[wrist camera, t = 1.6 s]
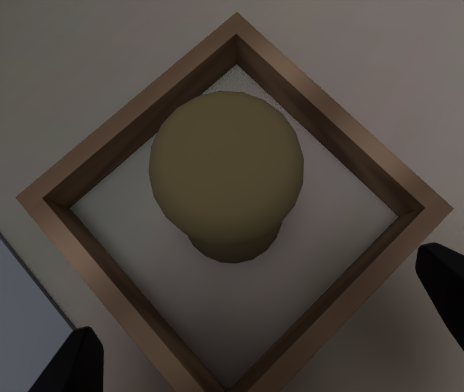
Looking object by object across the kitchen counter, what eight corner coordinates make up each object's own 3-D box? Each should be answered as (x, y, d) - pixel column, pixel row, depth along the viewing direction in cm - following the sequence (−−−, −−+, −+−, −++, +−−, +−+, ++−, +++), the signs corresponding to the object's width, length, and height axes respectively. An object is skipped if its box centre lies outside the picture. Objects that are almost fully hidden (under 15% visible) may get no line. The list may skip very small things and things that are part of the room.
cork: (271, 274, 20) (307, 278, 10) (170, 250, 21) (96, 229, 10) (291, 175, 21) (343, 79, 11) (195, 155, 22) (152, 43, 11)
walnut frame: (423, 217, 21) (453, 208, 18) (225, 421, 19) (223, 449, 16) (237, 44, 23) (236, 11, 20) (46, 207, 21) (15, 197, 18)
